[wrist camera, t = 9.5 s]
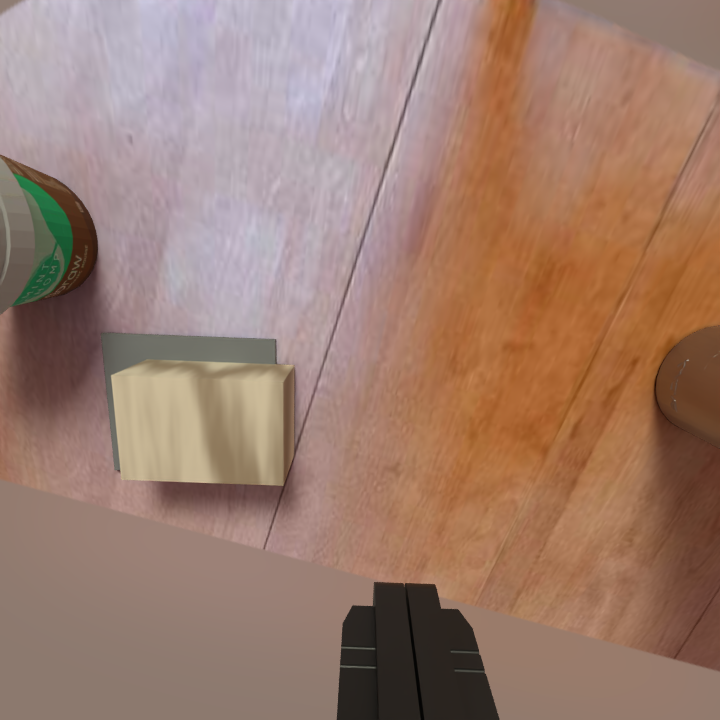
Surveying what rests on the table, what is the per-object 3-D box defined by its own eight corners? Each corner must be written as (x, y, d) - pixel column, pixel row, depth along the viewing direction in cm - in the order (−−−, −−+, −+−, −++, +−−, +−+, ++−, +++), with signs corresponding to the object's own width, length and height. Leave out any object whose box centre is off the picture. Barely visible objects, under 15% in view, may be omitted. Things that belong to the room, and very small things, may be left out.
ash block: (283, 382, 29) (111, 375, 29) (283, 485, 31) (121, 479, 31) (294, 365, 34) (147, 359, 34) (294, 455, 36) (154, 450, 36)
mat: (276, 339, 34) (275, 340, 33) (277, 473, 36) (276, 476, 36) (103, 332, 34) (100, 333, 33) (117, 467, 36) (114, 470, 36)
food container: (77, 342, 34) (-37, 373, 24) (5, 303, 33) (-142, 319, 24) (139, 204, 32) (39, 178, 22) (63, 160, 31) (-75, 112, 21)
